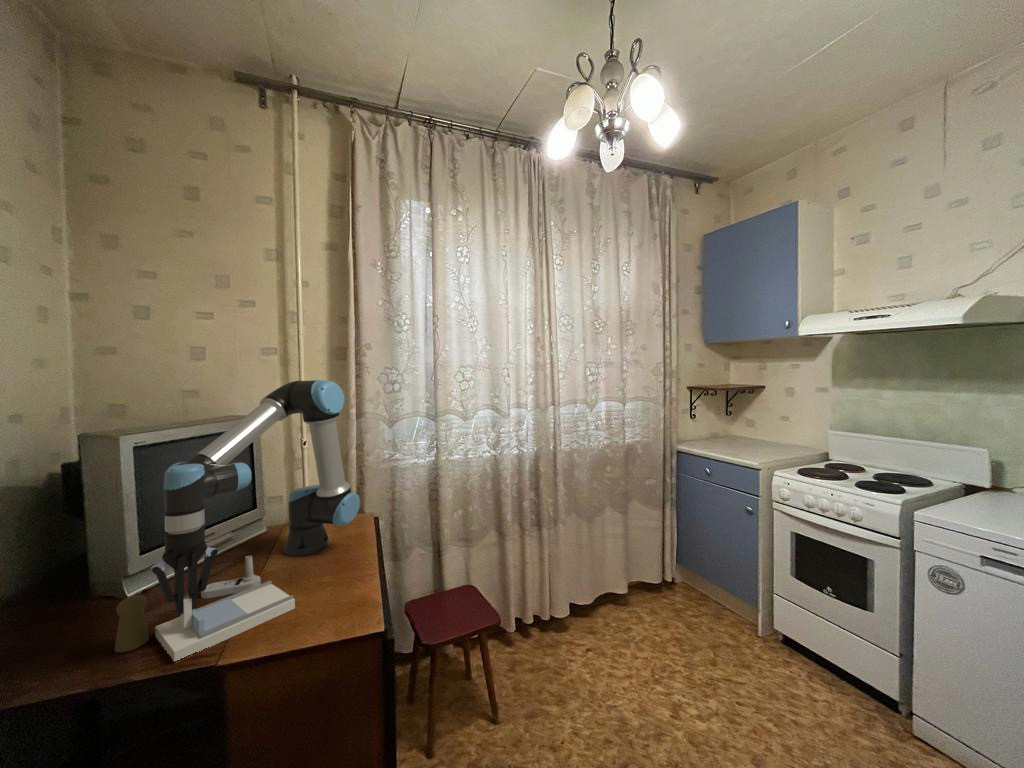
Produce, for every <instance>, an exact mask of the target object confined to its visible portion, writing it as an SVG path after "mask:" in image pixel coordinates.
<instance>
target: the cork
mask: <svg viewBox="0 0 1024 768" xmlns="http://www.w3.org/2000/svg"><path fill="white" fill-rule="evenodd" d="M147 601H148V600H147V598H146V597H145V596H144V595H140V594H139V595H133V596H130V597H127V598H124V599H123V600H121V601H119V603H118V604H117V606H116V613H117V616H119V620H118V626H117V631H116V638H115V645H114V649H113V650H114V652H115V653H126V651H127V652H130V651H133V650H136V649H137V648H140V647H142V646H143V645H145V644H146V643H147V642H148V641H149V640H150V635H149V631H148V625H147V620H146V616H145V615H146V614H145V608H146V606H147V603H148V602H147ZM141 645H142V646H141ZM139 646H140V647H139Z"/></svg>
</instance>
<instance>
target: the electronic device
mask: <svg viewBox="0 0 1024 768" xmlns="http://www.w3.org/2000/svg"><path fill="white" fill-rule="evenodd" d="M244 559H245V560H244V561H245V568H244V569H245V577H244V576H243V577H238V578H233V579H229V580H223V581H218V582H217V581H215V582H211V583H209V584H207V587H206V589H205V590H204V591H201V592H200V596H201V597H200V598H202V599H212V598H218V597H223V596H231V595H234V594H237V593H239V592H242V591H244V590H247V589H250V588H252V587H255V586H257V585H260V584H262V583H261V582H262V581H261V576H259V575H256V574H254V565H253V555H251V554H250V555H247V556H245V558H244Z"/></svg>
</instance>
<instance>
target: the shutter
mask: <svg viewBox="0 0 1024 768" xmlns="http://www.w3.org/2000/svg"><path fill="white" fill-rule="evenodd" d="M246 614H247V613H246V612H245V611H244V610H243V609H241V608H240V607H239V606H238V605H237V604H235V603H234V602H233V601H232V600H231V599H229V598H228V599H225V600H223V601H220V602H218V603H215V604H212V605H210V606H207V607H205V608H202V609H199V610H197V611H196V610H195V609H193V610H192V625H191V626H190V627H191V628H192V629H193V630H194V631H195V632H196V634H197V635H198V636H199V637H200V634H202V633H204V632H206V631H209V630H211V629H213V628H216V627H218V626H221V625H223V624H225V623H228V622H230V621H232V620H235V619H237V618H239V617H242V616H244V615H246Z"/></svg>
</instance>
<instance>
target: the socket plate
mask: <svg viewBox="0 0 1024 768" xmlns="http://www.w3.org/2000/svg"><path fill="white" fill-rule="evenodd" d="M272 583H273V581H272V580H268V581H266V582H263V583H261V584H260V585H257V586H255V587H252V588H250V589H247V590H244V591H242V592H239V593H235V594H230V595H228V596H226V597H224V598H220V599H218V600H216V601H214V602H211V603H210V602H209V604H206V605H202V606H200V607H198V608H197V607H196V609H195V610H196V611H197V610H199V609H202V608H205V607H207V606H210V605H212V604H215V603H218V602H220V601H223V600H225V599H228V598H229V599H231V600H232V601H233V602H234V603H235V604H237V605H238V606H239V607H240V608H241V609H243V610H244V611H245V612H246V613H247V614H246V615H244V616H242V617H239V618H237V619H235V620H232V621H230V622H228V623H225V624H223V625H221V626H218V627H216V628H213V629H211V630H209V631H206V632H204V633H202V634H200V637H199V636H198V635H197V634H196V632H195V631H194V630H193V629H192V628H191V627H190V626H188V627H186V628H184V627H183V626H182V625H181V616H179V617H176V618H174V619H171V620H169V621H166V622H163V623H161V624H160V623H159V625H158V624H157V625H156V626H155V628H154V630H155V632H154V633H155V638H156V639H157V641H158V642H159V643H161V644H160V646H161V647H162V648H163V647H164V648H163V649H164V651H165V650H166V651H167V652H166V651H165V652H166V653H167V655H168V654H169V655H170V656H171V658H172V659H173V660H172V659H171V658H170V659H171V660H172V662H173V661H174V662H175V661H177V660H180V659H181V658H184V657H186V656H188V655H191V654H193V653H195V652H198V653H200V652H202V651H204V650H203V649H205V648H207V649H209V648H211V647H213V646H215V645H217V644H220V643H221V642H224V641H227V640H229V639H231V638H233V637H235V636H237V635H240V634H242V633H244V632H245V631H248V630H251V629H252V628H255V627H257V626H259V625H261V624H263V623H265V622H268V621H270V620H273V619H274V618H276V617H279V616H281V615H284V614H285V613H287V612H289V611H292V610H294V609H295V608H296V605H295V604H296V599H295V598H294V595H293V594H291V595H289V594H288V593H286V592H285V591H283V590H282V589H281V588H279V587H277V586H276V585H274V584H272ZM208 647H209V648H208ZM201 650H202V651H201ZM205 650H206V649H205ZM199 651H200V652H199ZM169 655H168V656H169ZM170 656H169V657H170ZM191 656H192V655H191ZM174 662H173V663H174Z"/></svg>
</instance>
